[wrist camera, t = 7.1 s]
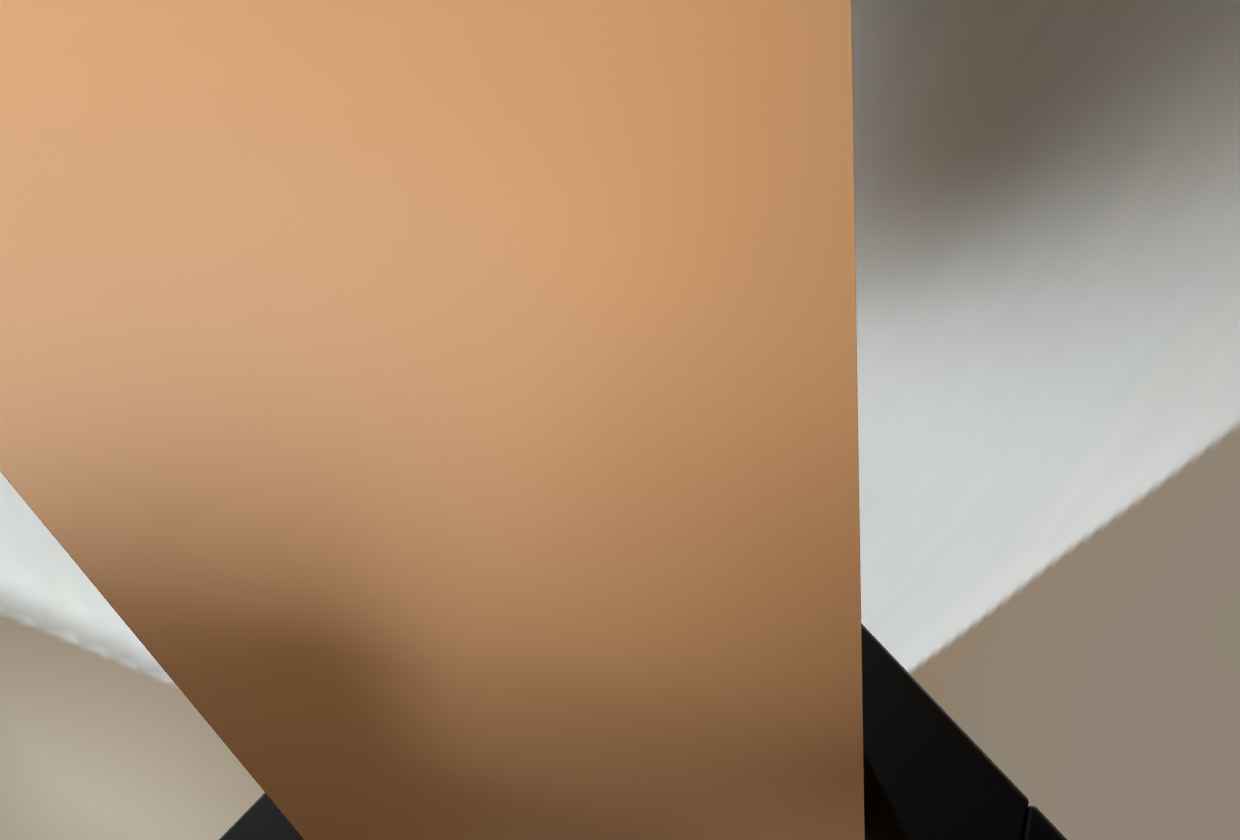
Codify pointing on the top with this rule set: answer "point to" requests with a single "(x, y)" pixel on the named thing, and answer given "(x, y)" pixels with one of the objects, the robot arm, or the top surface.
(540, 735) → the orange rectangular block
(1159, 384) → the top surface
